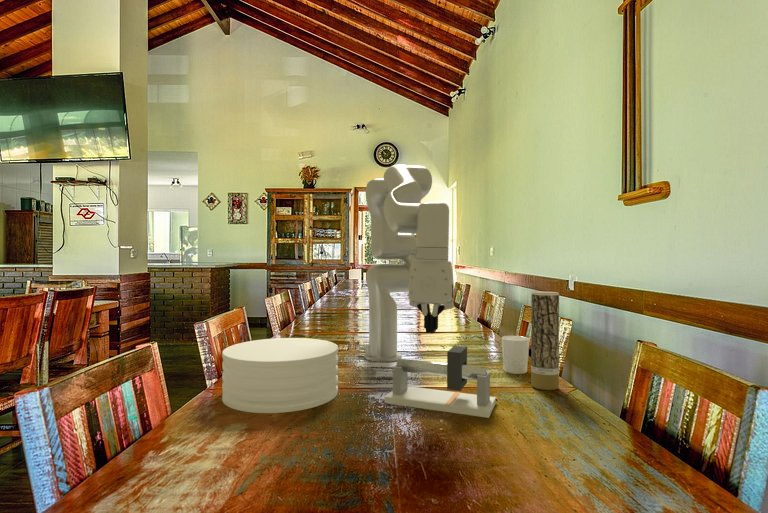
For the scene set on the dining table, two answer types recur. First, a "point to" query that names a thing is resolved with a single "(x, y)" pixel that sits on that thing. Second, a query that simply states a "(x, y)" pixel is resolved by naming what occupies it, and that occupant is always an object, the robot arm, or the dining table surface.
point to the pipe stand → (441, 396)
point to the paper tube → (545, 340)
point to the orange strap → (452, 398)
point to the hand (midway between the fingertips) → (430, 332)
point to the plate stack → (279, 374)
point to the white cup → (515, 354)
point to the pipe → (438, 368)
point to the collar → (456, 367)
